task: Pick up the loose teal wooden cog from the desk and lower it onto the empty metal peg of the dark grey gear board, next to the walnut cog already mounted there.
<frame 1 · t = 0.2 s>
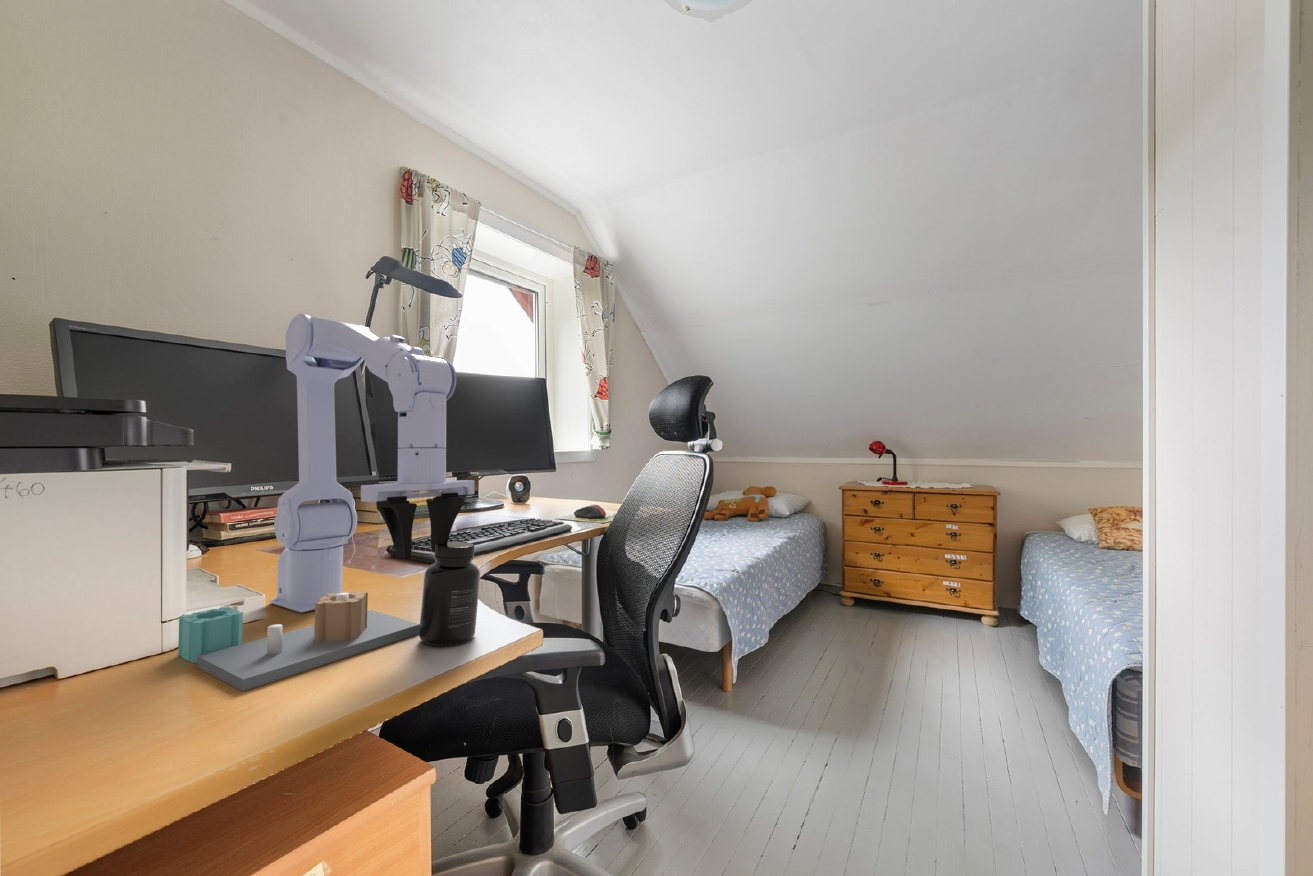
hand: (421, 554, 69), 11 cm above the table, tool pointing down, fingers open, 4 cm apart
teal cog: (210, 652, 63), on the table
gear board: (318, 648, 65), on the table
supplement bottle: (446, 639, 69), on the table, touching gripper
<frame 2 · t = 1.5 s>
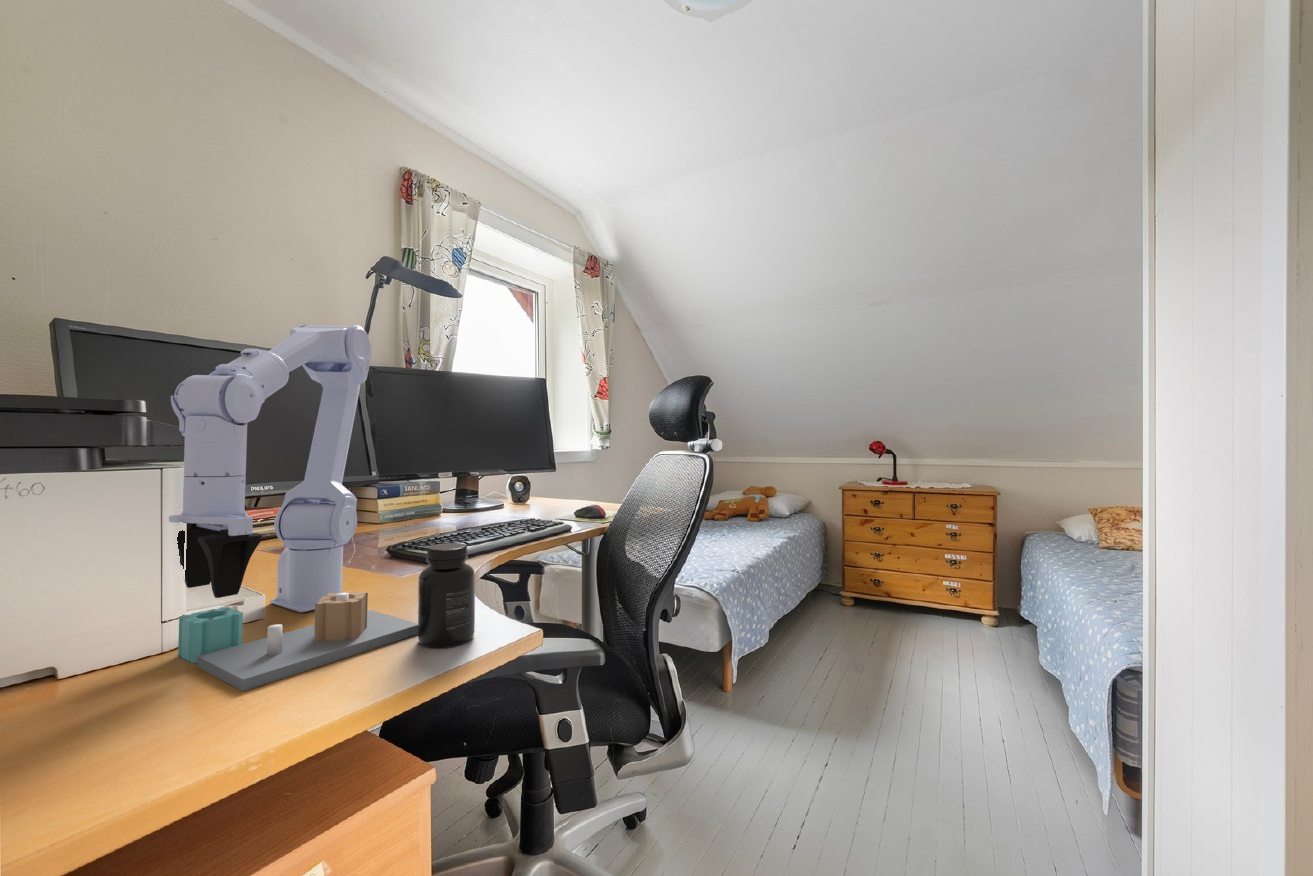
hand: (211, 590, 64), 7 cm above the table, tool pointing down, fingers open, 7 cm apart
supplement bottle: (446, 640, 69), on the table
everything else where it was.
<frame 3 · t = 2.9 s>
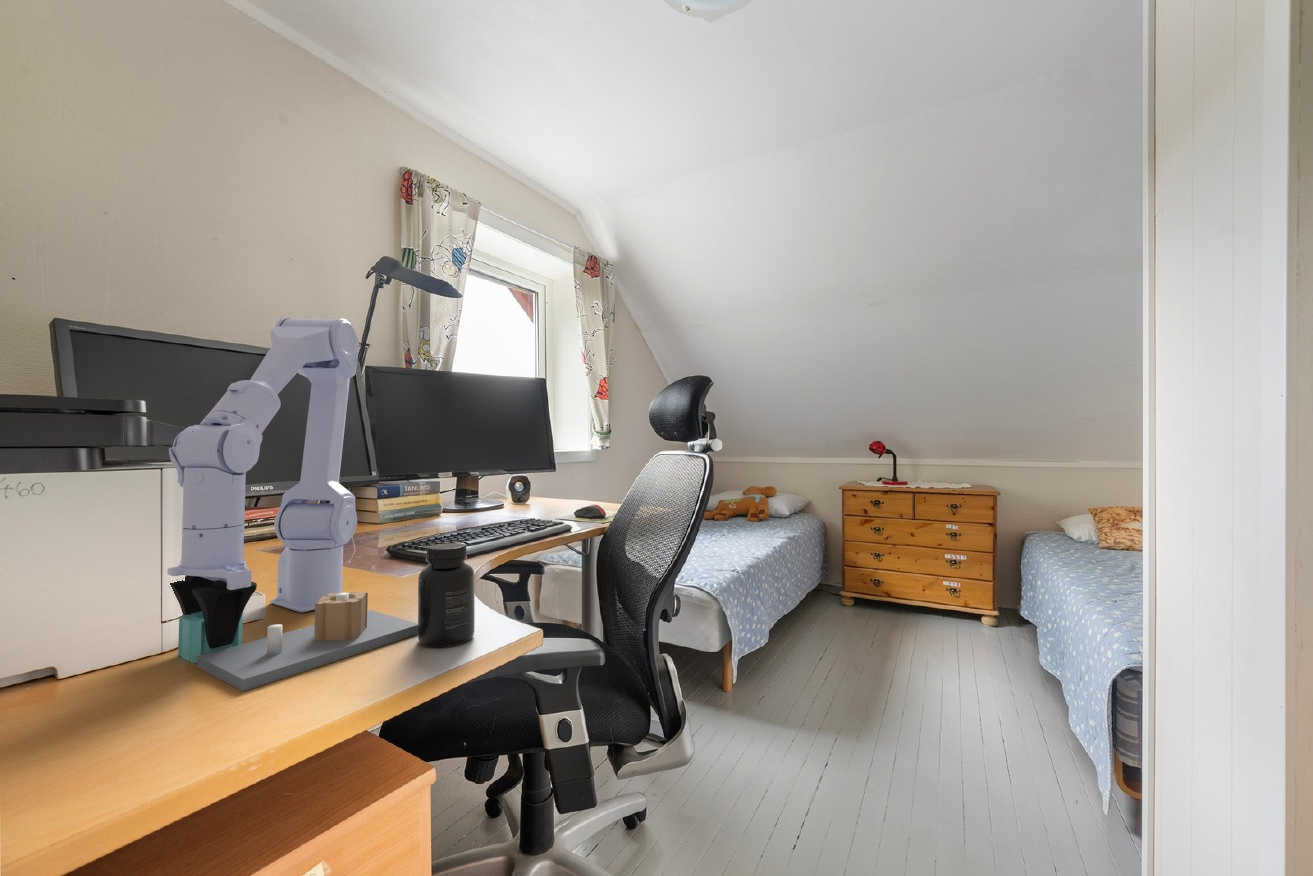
hand: (210, 640, 63), 1 cm above the table, tool pointing down, fingers closed on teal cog, 5 cm apart
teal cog: (210, 652, 63), on the table, touching gripper
everything else where it was.
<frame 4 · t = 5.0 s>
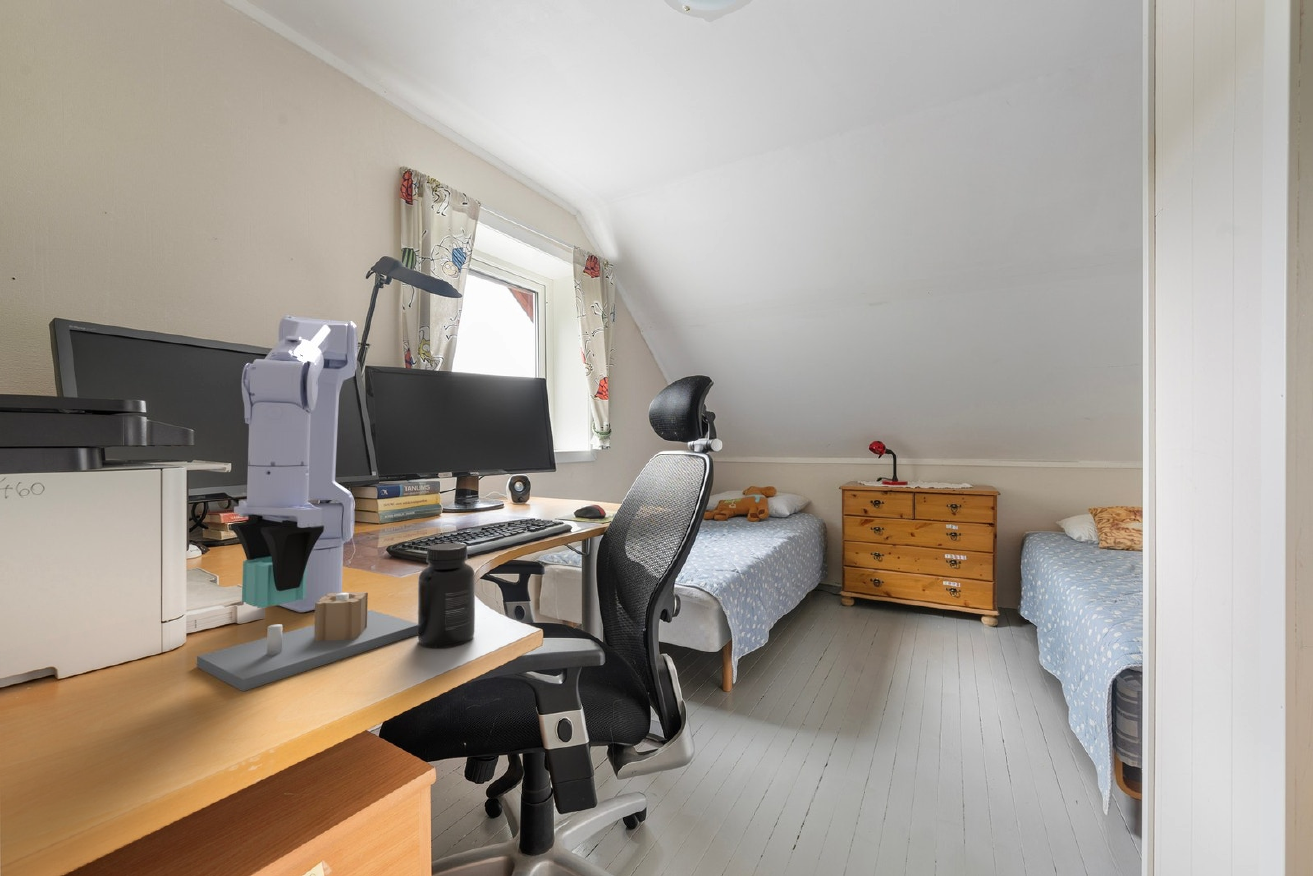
hand: (276, 585, 61), 9 cm above the table, tool pointing down, fingers closed on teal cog, 5 cm apart
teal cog: (274, 599, 61), point 7 cm above the table, touching gripper
everything else where it was.
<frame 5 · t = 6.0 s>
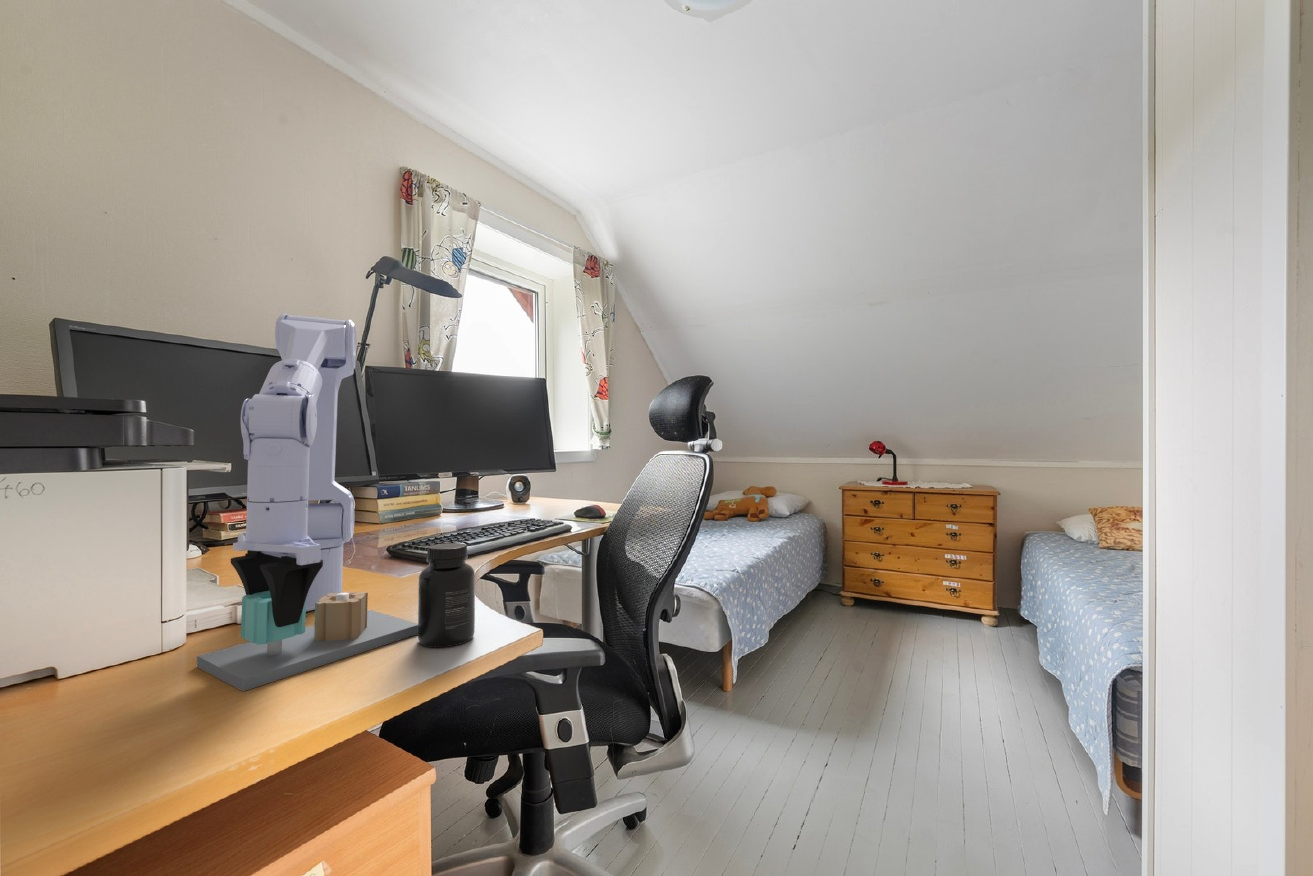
hand: (275, 620, 61), 5 cm above the table, tool pointing down, fingers closed on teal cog, 5 cm apart
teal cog: (273, 634, 61), point 3 cm above the table, touching gripper
everything else where it was.
when the fingers open (5 cm above the table, at t = 7.0 s): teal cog drops 2 cm, resting on gear board.
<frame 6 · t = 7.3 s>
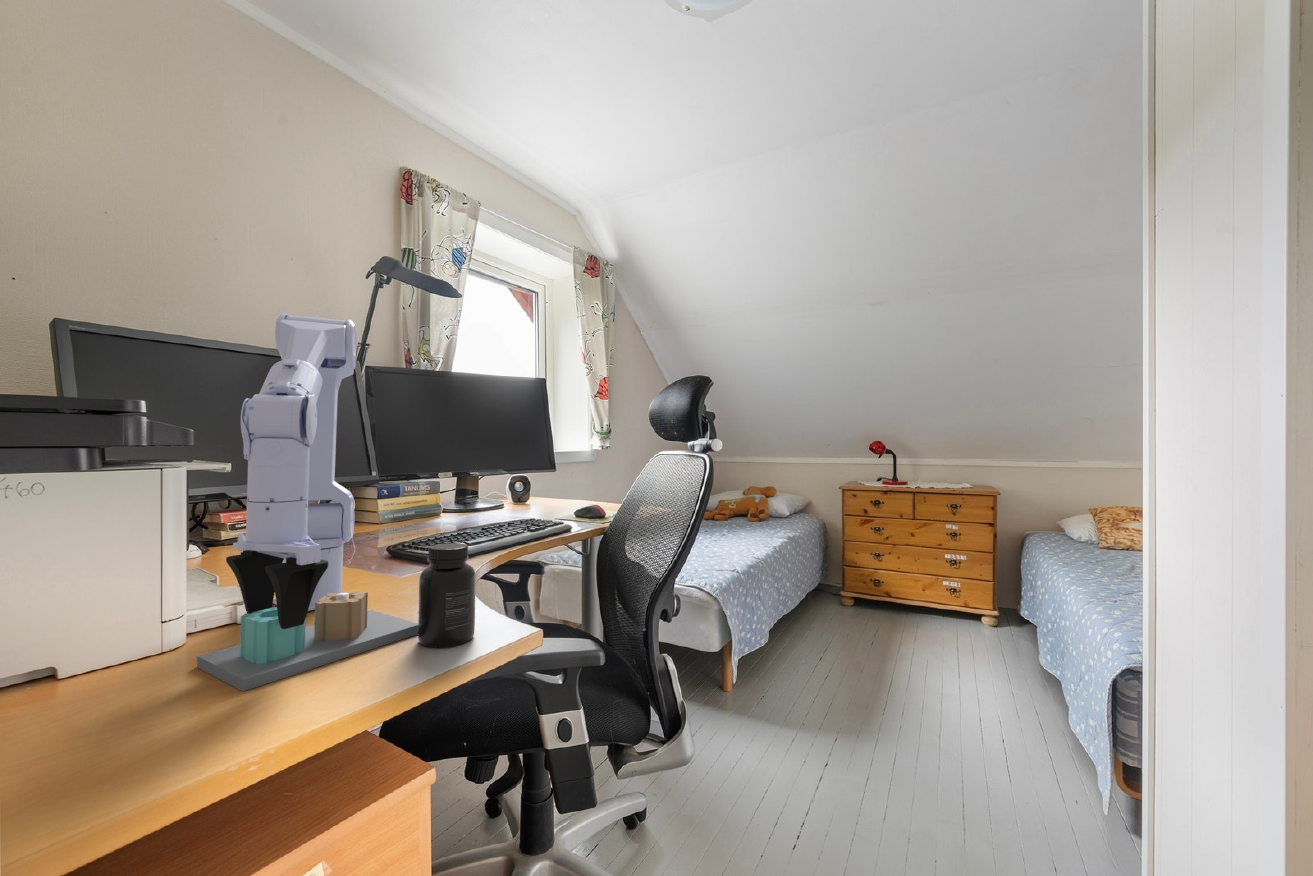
hand: (275, 620, 61), 5 cm above the table, tool pointing down, fingers open, 7 cm apart
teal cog: (273, 653, 61), point 1 cm above the table, touching gear board
everything else where it was.
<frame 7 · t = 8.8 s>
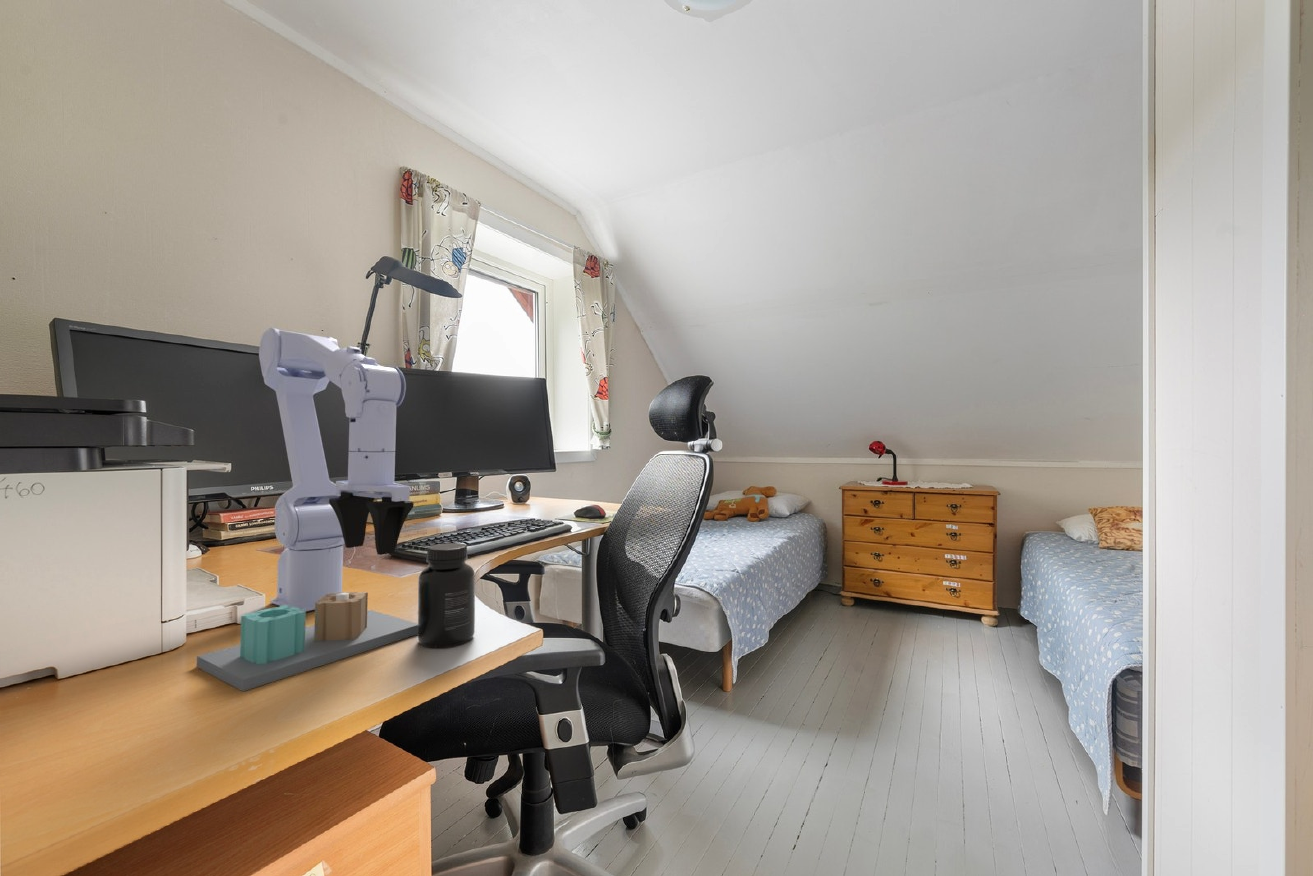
hand: (369, 550, 74), 10 cm above the table, tool pointing down, fingers open, 7 cm apart
nothing on the table moved.
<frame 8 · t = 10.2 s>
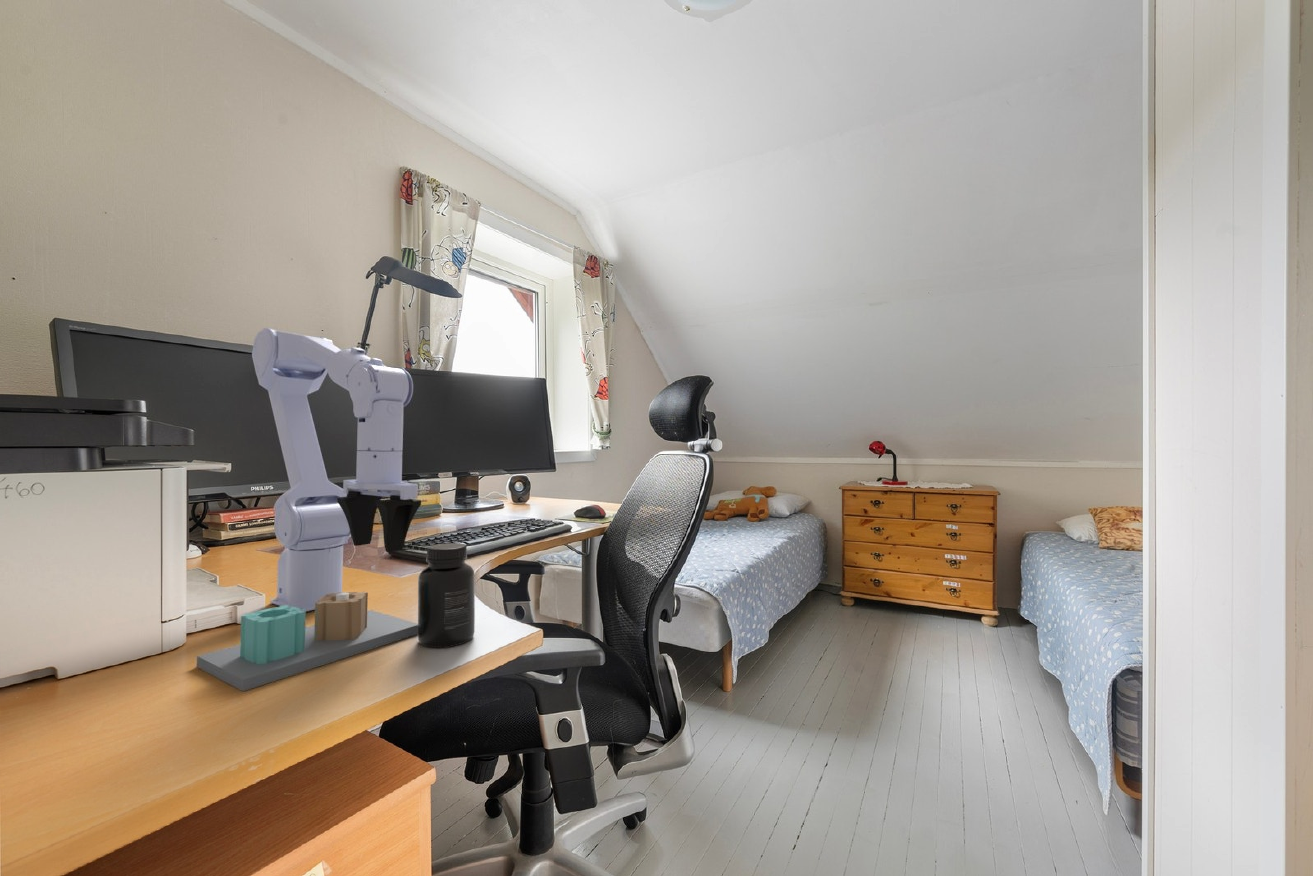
hand: (377, 547, 75), 10 cm above the table, tool pointing down, fingers open, 7 cm apart
nothing on the table moved.
at the end: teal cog 0.1 cm from the target spot on the gear board, point 1.2 cm above the gear board's base; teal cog tilted 0°; the gripper is holding nothing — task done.
